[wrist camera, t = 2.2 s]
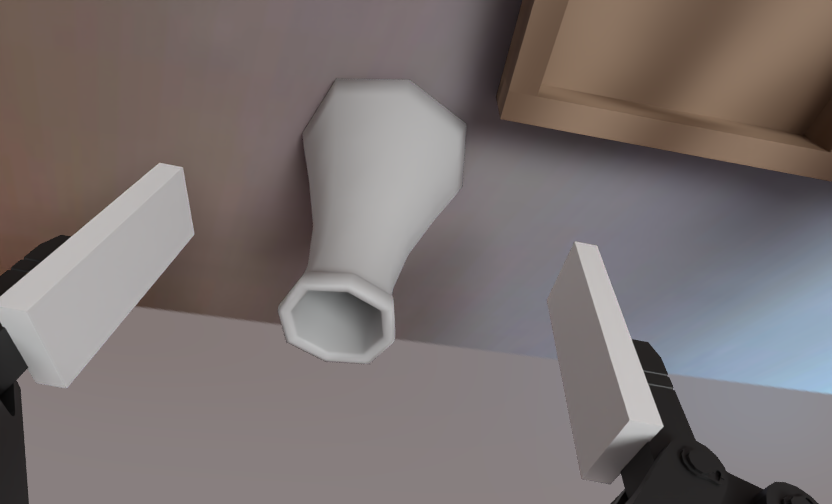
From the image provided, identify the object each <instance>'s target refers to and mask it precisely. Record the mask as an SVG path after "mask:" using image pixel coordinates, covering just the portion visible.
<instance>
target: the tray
mask: <svg viewBox="0 0 832 504" xmlns="http://www.w3.org/2000/svg"><path fill="white" fill-rule="evenodd" d="M496 98H497V104H498V109H499V115H500V119H503V120H508V121H513V122H519V123H524V124H529V125H534V126H540V127H545V128H550V129H556V130H561V131H566V132H572V133H577V134H582V135H588V136H593V137H598V138H603V139H609V140H614V141H619V142H625V143H630V144H635V145H641V146H646V147H651V148H657V149H662V150H667V151H673V152H678V153H683V154H688V155H694V156H699V157H704V158H710V159H715V160H720V161H726V162H731V163H736V164H742V165H747V166H752V167H757V168H763V169H768V170H773V171H779V172H784V173H789V174H795V175H800V176H805V177H811V178H816V179H821V180H826V181H832V0H522V4H521V8H520V11H519V15H518V19H517V22H516V26H515V30H514V33H513V37H512V41H511V44H510V48H509V52H508V55H507V59H506V63H505V66H504V70H503V73H502V77H501V81H500V84H499V88H498V92H497V95H496Z"/></svg>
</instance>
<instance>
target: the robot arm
mask: <svg viewBox="0 0 832 504" xmlns="http://www.w3.org/2000/svg"><path fill="white" fill-rule="evenodd" d="M193 236H194V229H193V223H192V217H191V212H190V206H189V200H188V194H187V188H186V183H185V177H184V171H183V167H179V166H174V165H169V164H163V163H159V164H157V165H156V166H155V167H154V168H153V169H151V170H150V171H149V172H148V173H147V174H145V175H144V176H143V177H142V178H141V179H140V180H138V181H137V182H136V183H135V184H134V185H132V186H131V187H130V188H129V189H128V190H126V191H125V192H124V193H123V194H122V195H120V196H119V197H118V198H117V199H116V200H115V201H113V202H112V203H111V204H110V205H109V206H107V207H106V208H105V209H104V210H103V211H101V212H100V213H99V214H98V215H97V216H95V217H94V218H93V219H92V220H91V221H90V222H88V223H87V224H86V225H85V226H84V227H82V228H81V229H80V230H79V231H78V232H76V233H75V234H74V235H73V236H72V237H70V236H64V235H60V236H58V237H55V238H53V239H51V240H49V241H47V242H44V243H42V244H40V245H39V246H37V247H36V248H35V249H34V250H32V251H31V252H30V253H29V254H27V255H26V256H25V257H24V260H20V261H19V262H17V263H16V264H15V265H14V266H12V267H11V270H7V271H6V272H5V273H4V274H2V275H1V276H0V504H29V501H28V486H27V473H26V458H25V445H24V431H23V417H22V404H21V389H20V387H19V385H18V382H17V381H16V380H17V379H18V378H19V377H20V376H21V374H23V372H24V371H25V370H26V369H28V370H29V372H30V374H31V375H32V377H33V379H34V381H35V382H36V383H38V384H44V385H50V386H55V387H61V388H68V387H69V385H70V384H71V383H72V382H73V380H74V379H75V378H76V377H77V376H78V375H79V373H80V372H81V371H82V370H83V368H84V367H85V366H86V365H87V364H88V362H89V361H90V360H91V359H92V358H93V356H94V355H95V354H96V353H97V352H98V350H99V349H100V348H101V347H102V346H103V344H104V343H105V342H106V340H107V339H108V338H109V337H110V336H111V335H112V333H113V332H114V331H115V330H116V328H117V327H118V326H119V325H120V324H121V323H122V321H123V320H124V319H125V318H126V317H127V315H128V314H129V313H130V312H131V310H132V309H133V308H134V307H135V306H136V305H137V303H138V302H139V301H140V300H141V298H142V297H143V296H144V295H145V294H146V292H147V291H148V290H149V289H150V288H151V286H152V285H153V284H154V283H155V282H156V280H157V279H158V278H159V277H160V276H161V274H162V273H163V272H164V271H165V270H166V268H167V267H168V266H169V265H170V263H171V262H172V261H173V260H174V259H175V257H176V256H177V255H178V254H179V253H180V251H181V250H182V249H183V248H184V247H185V245H186V244H187V243H188V242H189V241H190V239H191V238H192V237H193ZM547 304H548V309H549V314H550V319H551V324H552V330H553V335H554V340H555V345H556V350H557V355H558V361H559V365H560V371H561V376H562V381H563V386H564V392H565V397H566V402H567V407H568V413H569V418H570V423H571V428H572V433H573V438H574V444H575V449H576V454H577V459H578V464H579V470H580V475H581V479H583V480H589V481H594V482H600V483H606V484H611V483H612V482H613V481H614V480H615V479H616V478H617V477H618V476H619V475H620V474H621V475H622V479H623V483H624V487H625V489H624V491H622V492H621V494H620V495H619V496H618V497H617V498H616V499H615V500H614V501H613V502H612V503H611V504H818V503H817V502H816V501H815V500H814V499H813V498H812V497H811V496H809V495H808V494H807V493H805V492H804V491H802V490H801V489H799V488H798V487H796V486H793V485H791V484H788V483H785V482H774V483H773V484H771V485H769V486H768V487H767V488H765V489H761V488H759V487H757V486H755V485H753V484H751V483H749V482H747V481H744V480H742V479H740V478H738V477H736V476H734V475H732V474H730V473H728V472H727V471H726V470H725V467H724V466H723V464H722V463H721V462H720V460H719V459H718V457H717V456H716V455H715V454H714V453H713V452H712V451H710V450H709V449H708V448H707V447H706V446H704V445H702V444H701V443H699V442H697V441H696V440H695V438H694V435H693V433H692V431H691V428H690V426H689V423H688V421H687V419H686V416H685V414H684V411H683V409H682V407H681V405H680V402H679V400H678V397H677V395H676V392H675V391H674V390H673V385H672V383H671V380H670V378H669V377H667V375H668V373H667V371H666V368H665V366H664V364H663V361H662V359H661V357H660V356H659V355H658V354H657V352H656V351H655V350H654V349H653V348H652V346H651V345H650V344H649V343H648V342H644V341H638V340H633V339H631V337H630V334H629V331H628V328H627V326H626V323H625V320H624V318H623V315H622V312H621V309H620V307H619V304H618V301H617V299H616V296H615V293H614V290H613V288H612V285H611V282H610V280H609V277H608V274H607V271H606V269H605V266H604V263H603V261H602V258H601V255H600V253H599V250H598V247H597V246H596V245H590V244H585V243H580V242H574V244H573V246H572V248H571V250H570V252H569V254H568V257H567V259H566V261H565V263H564V265H563V267H562V269H561V271H560V273H559V276H558V278H557V280H556V282H555V284H554V286H553V288H552V290H551V292H550V295H549V297H548V299H547Z"/></svg>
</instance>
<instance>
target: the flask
mask: <svg viewBox="0 0 832 504" xmlns="http://www.w3.org/2000/svg"><path fill="white" fill-rule="evenodd" d="M466 125H467V124H466V123H465V122H463V121H462V120H461V119H459V118H458V117H457V116H456V115H454V114H453V113H452V112H450V111H449V110H448V109H447V108H445V107H444V106H443V105H441V104H440V103H439V102H437V101H436V100H435V99H434V98H432V97H431V96H430V95H428V94H427V93H426V92H425V91H423V90H422V89H421V88H419V87H418V86H417V85H416V84H414V83H413V82H412V81H410V80H392V79H336V80H335V81H334V83H333V85H332V86H331V88H330V89H329V91H328V93H327V94H326V96H325V98H324V99H323V101H322V102H321V104H320V106H319V107H318V109H317V110H316V112H315V114H314V115H313V117H312V119H311V120H310V122H309V123H308V125H307V127H306V128H305V130H304V131H303V133H302V134H303V145H304V151H305V158H306V164H307V171H308V177H309V186H310V197H311V207H312V218H313V232H312V239H311V246H310V254H309V261H308V265H307V268H306V270H305V273H304V274H303V275H302V277H301V278H300V279H299V280H298V282H297V283H296V284H295V285H294V287H293V288H292V289H291V290H290V292H289V293H288V294H287V295H286V297H285V298H284V299H283V300H282V302H281V303H280V304H279V307H278V314H279V317H280V321H281V325H282V328H283V332H284V336H285V339H286V342H287V343H289V344H291V345H293V346H295V347H297V348H299V349H301V350H303V351H305V352H307V353H309V354H311V355H313V356H315V357H317V358H319V359H321V360H323V361H325V362H339V363H356V364H370V363H371V362H372V361H373V360H374V359H376V357H378V356H379V355H380V354H381V353H382V352H383V351H385V350H386V349H387V348H388V347H389V346H390V345H391V344H393V343H394V340H395V316H394V301H393V296H392V292H393V288H394V286H395V283H396V281H397V279H398V277H399V274H400V272H401V270H402V268H403V265H404V263H405V261H406V259H407V256H408V254H409V253H410V252H411V250H412V249H413V248H414V246H415V245H416V244H417V243H418V241H419V240H420V239H421V237H422V236H423V235H424V233H425V232H426V231H427V229H428V228H429V227H430V225H431V224H432V223H433V221H434V220H435V219H436V218H437V216H438V215H439V214H440V213H441V212H442V211H443V209H444V208H445V207H446V206H447V205H448V204H449V202H450V201H451V200H452V199H453V198H454V197H455V195H456V194H457V193H458V191H459V190H460V189H461V188H462V186H463V172H464V156H465V141H466Z"/></svg>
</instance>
